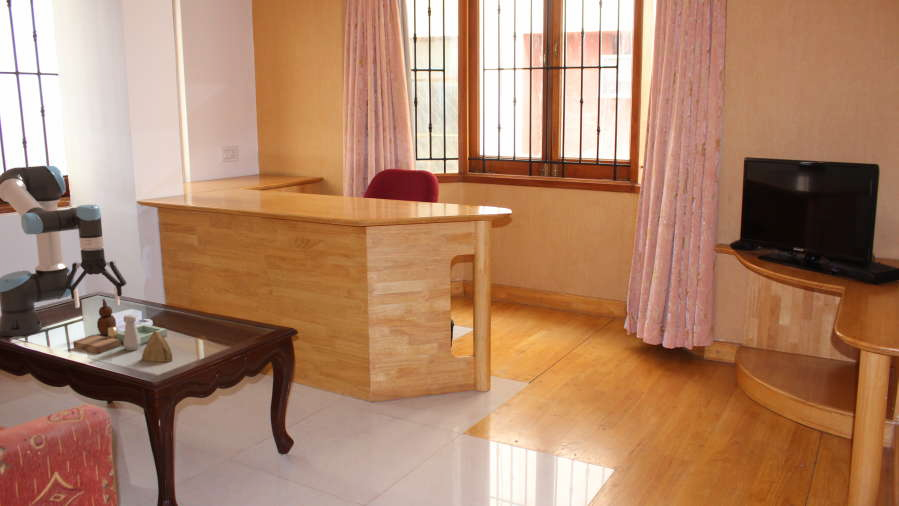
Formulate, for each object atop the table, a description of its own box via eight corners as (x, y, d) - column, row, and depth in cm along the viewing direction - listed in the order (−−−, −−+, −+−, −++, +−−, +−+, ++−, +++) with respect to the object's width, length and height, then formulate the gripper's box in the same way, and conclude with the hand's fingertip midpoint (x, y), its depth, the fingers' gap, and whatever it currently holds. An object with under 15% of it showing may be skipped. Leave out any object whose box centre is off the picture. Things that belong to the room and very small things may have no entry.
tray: (116, 340, 291) (115, 333, 291) (144, 331, 302) (143, 324, 302) (139, 345, 285) (138, 338, 285) (167, 336, 296) (166, 329, 296)
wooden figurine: (108, 337, 295) (105, 300, 292) (95, 336, 296) (92, 299, 293) (119, 332, 301) (116, 295, 298) (106, 331, 303) (103, 294, 300)
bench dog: (107, 343, 288) (105, 328, 287) (114, 341, 290) (112, 326, 289) (112, 344, 286) (111, 329, 285) (119, 342, 289) (117, 327, 288)
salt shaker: (136, 345, 286) (133, 312, 283) (144, 348, 282) (141, 314, 280) (121, 349, 282) (118, 315, 279) (129, 352, 278) (126, 318, 275)
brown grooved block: (73, 349, 283) (73, 341, 282) (93, 342, 291) (93, 334, 290) (101, 354, 277) (100, 346, 276) (120, 347, 285) (120, 339, 284)
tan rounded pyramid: (181, 353, 270) (170, 343, 277) (166, 339, 265) (155, 328, 272) (157, 375, 267) (146, 364, 274) (141, 361, 261) (131, 350, 268)
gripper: (51, 252, 264) (57, 310, 268) (127, 248, 269) (132, 306, 273) (57, 248, 271) (63, 305, 276) (131, 245, 276) (136, 301, 280)
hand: (97, 306), depth 274 cm, fingers open, 13 cm apart
